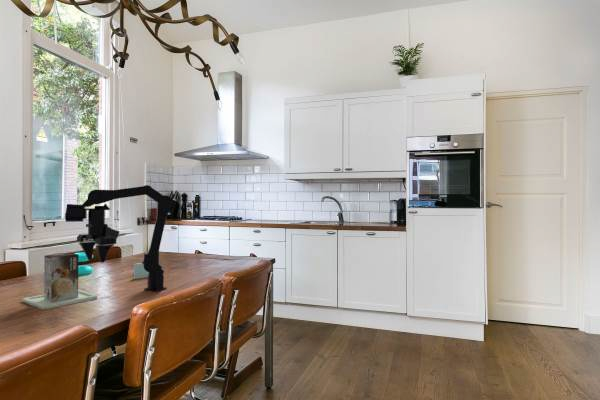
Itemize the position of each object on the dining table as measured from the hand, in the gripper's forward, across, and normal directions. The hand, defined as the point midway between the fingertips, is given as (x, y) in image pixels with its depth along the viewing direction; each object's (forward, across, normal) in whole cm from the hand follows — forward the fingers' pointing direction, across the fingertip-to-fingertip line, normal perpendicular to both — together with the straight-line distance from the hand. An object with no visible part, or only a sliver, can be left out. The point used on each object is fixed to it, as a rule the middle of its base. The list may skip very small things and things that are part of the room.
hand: (96, 261), depth 145 cm
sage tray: (+13, 0, +12) cm, 18 cm away
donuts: (+13, +42, -15) cm, 46 cm away
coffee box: (+12, 0, +12) cm, 17 cm away
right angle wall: (+14, +17, -31) cm, 38 cm away
